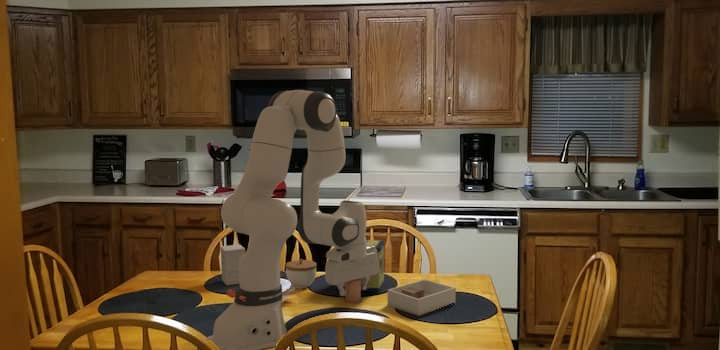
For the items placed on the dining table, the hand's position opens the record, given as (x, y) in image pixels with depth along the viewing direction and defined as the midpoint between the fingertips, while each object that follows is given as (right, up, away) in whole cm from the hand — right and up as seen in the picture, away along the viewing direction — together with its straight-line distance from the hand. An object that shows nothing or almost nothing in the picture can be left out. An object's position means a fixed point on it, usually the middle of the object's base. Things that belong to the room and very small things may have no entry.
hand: (353, 292), depth 206 cm
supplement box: (-43, -1, +22) cm, 48 cm away
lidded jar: (-18, -1, +17) cm, 25 cm away
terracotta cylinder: (0, -3, 0) cm, 3 cm away
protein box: (+2, -1, +16) cm, 16 cm away
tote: (+22, -3, -3) cm, 22 cm away
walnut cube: (+19, -3, -6) cm, 20 cm away
